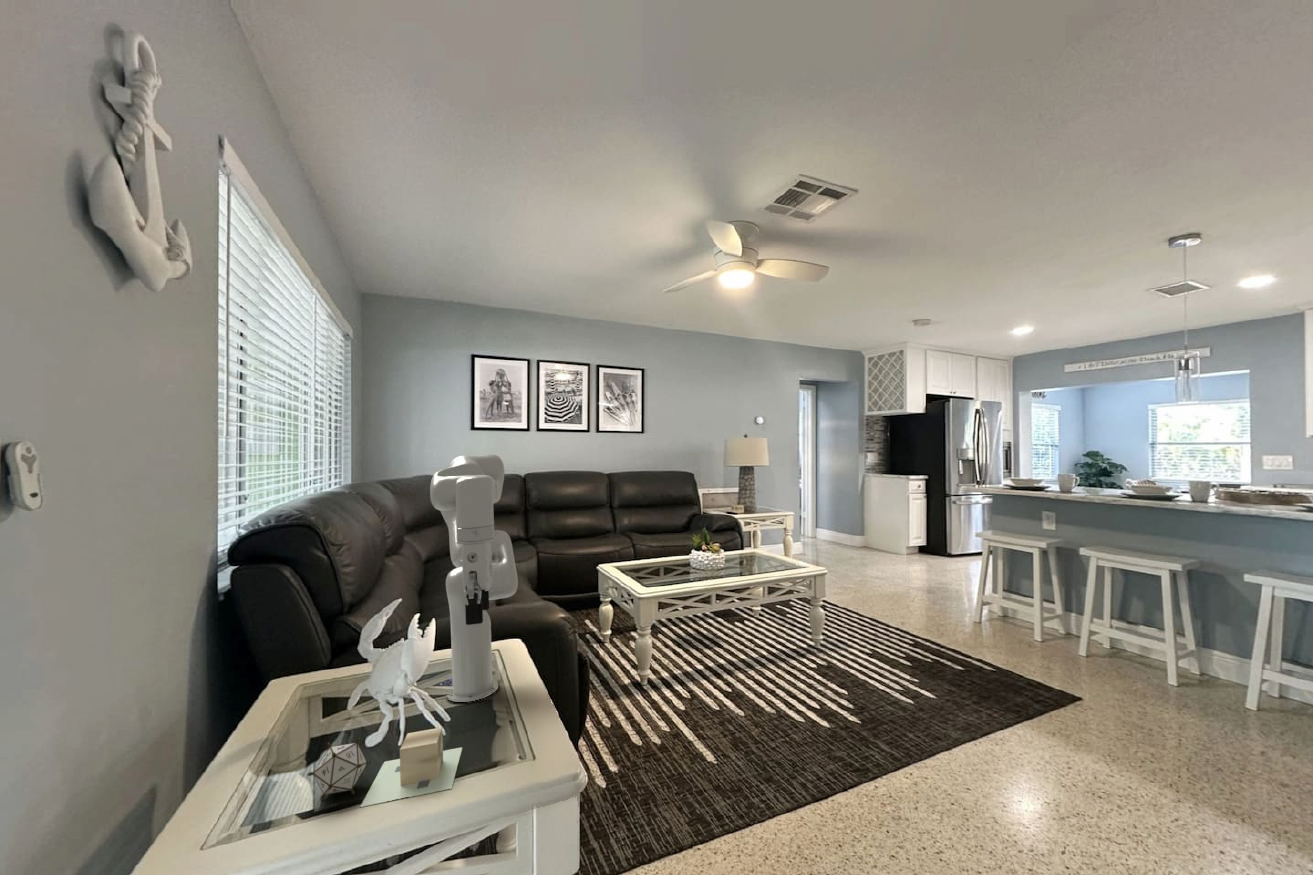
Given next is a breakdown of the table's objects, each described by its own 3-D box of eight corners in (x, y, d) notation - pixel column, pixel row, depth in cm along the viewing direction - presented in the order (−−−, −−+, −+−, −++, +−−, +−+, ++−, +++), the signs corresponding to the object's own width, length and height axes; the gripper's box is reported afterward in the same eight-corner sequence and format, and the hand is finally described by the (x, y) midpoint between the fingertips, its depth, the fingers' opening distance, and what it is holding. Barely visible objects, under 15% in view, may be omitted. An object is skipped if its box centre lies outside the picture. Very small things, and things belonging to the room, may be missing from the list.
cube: (408, 766, 92) (407, 733, 93) (443, 760, 94) (442, 727, 94) (400, 785, 87) (399, 749, 87) (437, 777, 88) (436, 742, 89)
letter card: (384, 762, 95) (384, 761, 95) (462, 747, 98) (462, 746, 98) (360, 807, 81) (360, 806, 81) (451, 788, 85) (451, 787, 85)
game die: (342, 820, 84) (325, 792, 79) (307, 795, 87) (289, 766, 82) (386, 769, 91) (374, 739, 86) (353, 747, 94) (339, 717, 89)
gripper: (488, 539, 98) (491, 627, 97) (498, 528, 115) (501, 603, 114) (448, 542, 96) (450, 632, 95) (464, 530, 113) (466, 607, 112)
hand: (478, 616), depth 104 cm, fingers open, 9 cm apart
